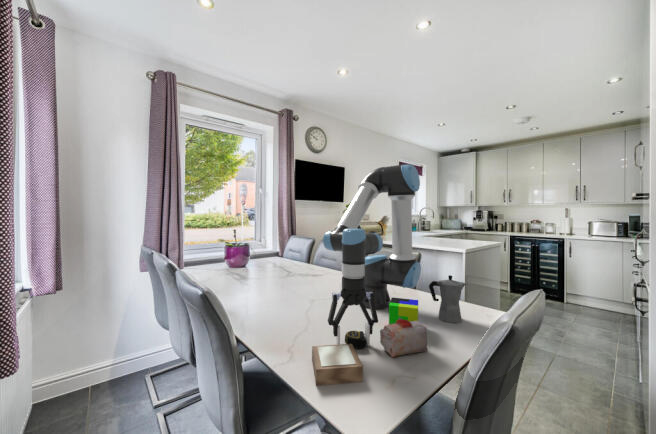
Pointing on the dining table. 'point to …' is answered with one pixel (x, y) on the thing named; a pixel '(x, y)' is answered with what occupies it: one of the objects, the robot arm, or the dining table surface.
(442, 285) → the coffeepot
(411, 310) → the puzzle toy
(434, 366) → the dining table surface
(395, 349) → the food item
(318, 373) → the base block
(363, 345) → the tape measure
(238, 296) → the dining table surface
